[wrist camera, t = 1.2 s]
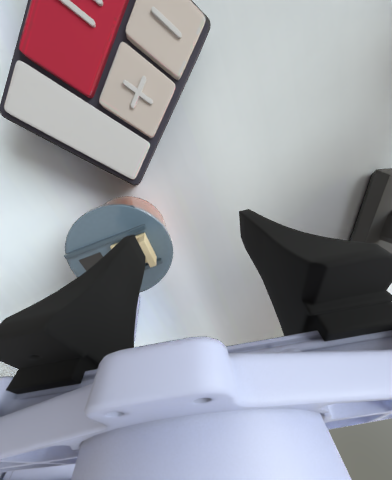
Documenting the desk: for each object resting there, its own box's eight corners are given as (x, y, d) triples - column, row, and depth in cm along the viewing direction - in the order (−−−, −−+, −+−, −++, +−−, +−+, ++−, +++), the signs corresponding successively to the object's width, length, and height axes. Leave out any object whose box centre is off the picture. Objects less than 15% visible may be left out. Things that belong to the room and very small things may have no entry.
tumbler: (150, 182, 21) (149, 189, 14) (178, 247, 25) (186, 277, 18) (73, 210, 20) (34, 231, 13) (114, 272, 24) (100, 312, 18)
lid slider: (144, 231, 16) (143, 239, 14) (156, 256, 17) (157, 266, 15) (110, 245, 16) (105, 254, 14) (125, 269, 17) (122, 280, 15)
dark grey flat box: (216, 13, 14) (136, 187, 16) (201, 49, 18) (139, 185, 20) (57, -162, 10) (-13, 110, 12) (84, -64, 13) (26, 126, 16)
